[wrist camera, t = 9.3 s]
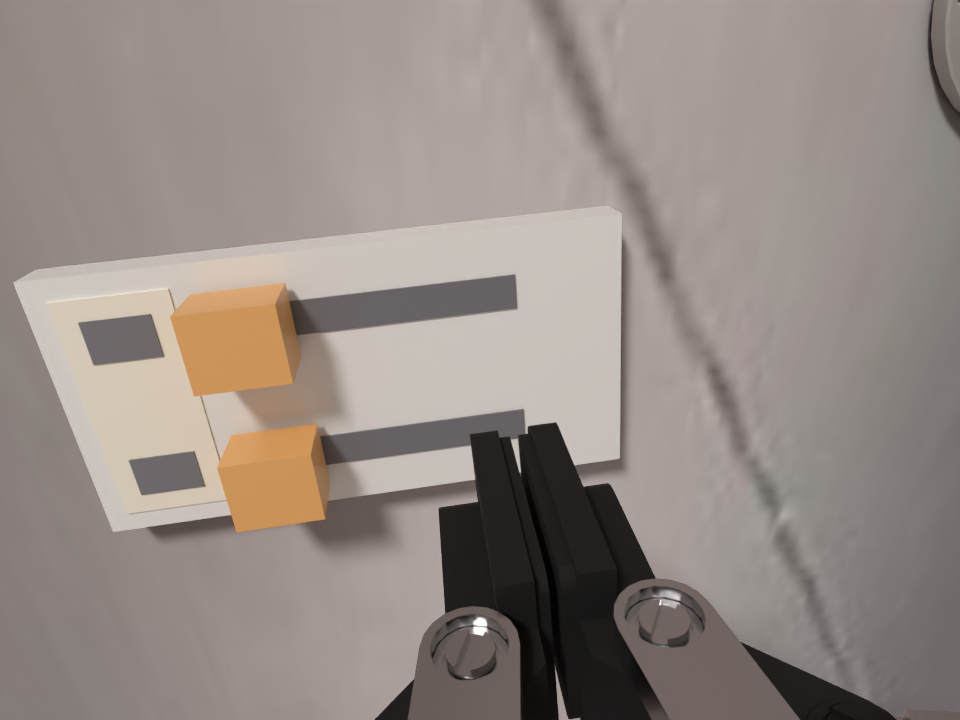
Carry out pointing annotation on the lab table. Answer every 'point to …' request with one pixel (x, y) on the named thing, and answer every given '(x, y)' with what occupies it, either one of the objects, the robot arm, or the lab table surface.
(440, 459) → the switch panel
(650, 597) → the robot arm
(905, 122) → the lab table surface
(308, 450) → the switch tab
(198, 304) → the switch tab
